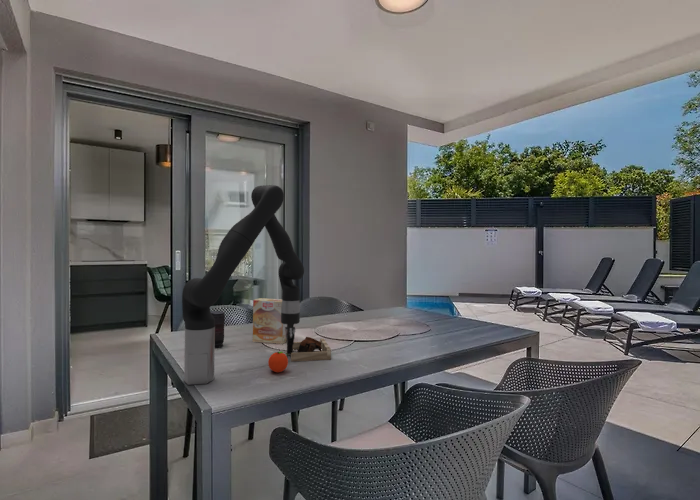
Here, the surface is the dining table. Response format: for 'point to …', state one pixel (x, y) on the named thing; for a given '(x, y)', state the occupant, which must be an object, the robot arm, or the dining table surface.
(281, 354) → the clementine
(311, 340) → the pottery mug
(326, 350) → the beige wooden tray
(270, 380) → the dining table surface
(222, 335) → the camera lens
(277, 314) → the coffeecake box
